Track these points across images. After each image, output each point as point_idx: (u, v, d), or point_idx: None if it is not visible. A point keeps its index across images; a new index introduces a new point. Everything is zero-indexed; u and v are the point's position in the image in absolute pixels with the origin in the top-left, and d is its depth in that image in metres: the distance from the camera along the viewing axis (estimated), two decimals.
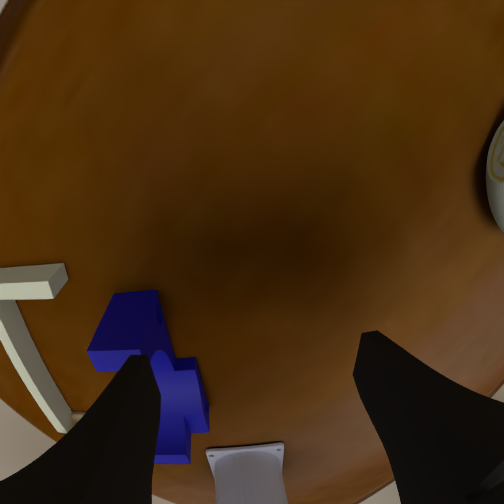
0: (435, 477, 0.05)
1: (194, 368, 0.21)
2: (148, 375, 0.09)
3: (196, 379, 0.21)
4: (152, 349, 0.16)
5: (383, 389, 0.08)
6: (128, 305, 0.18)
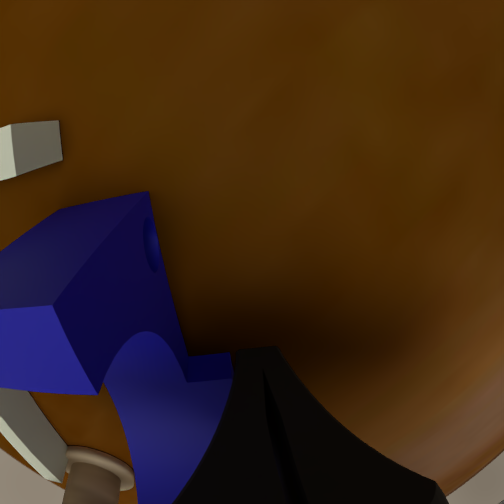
0: None
1: (230, 375, 0.10)
2: None
3: None
4: (126, 324, 0.05)
5: (269, 411, 0.08)
6: (77, 217, 0.07)
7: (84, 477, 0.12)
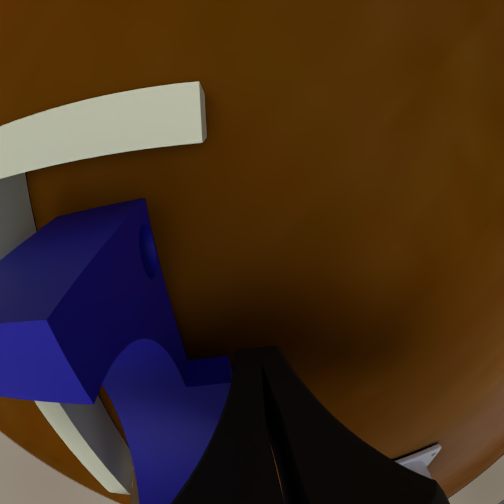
0: None
1: (229, 379, 0.10)
2: None
3: None
4: (122, 333, 0.05)
5: (270, 411, 0.08)
6: (73, 226, 0.07)
7: None
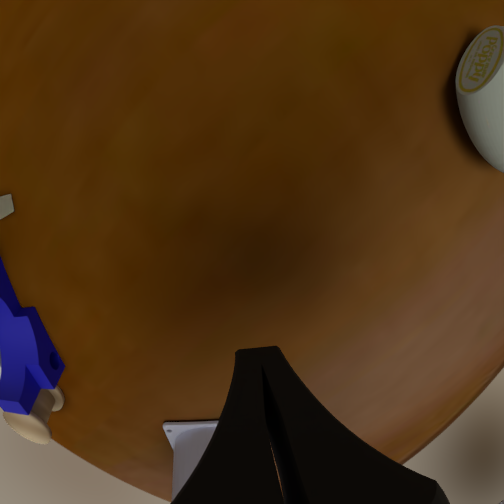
0: None
1: (28, 315, 0.18)
2: None
3: (31, 327, 0.18)
4: None
5: (270, 411, 0.08)
6: None
7: None
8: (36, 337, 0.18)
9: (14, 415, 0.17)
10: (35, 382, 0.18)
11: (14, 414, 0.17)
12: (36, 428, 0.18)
